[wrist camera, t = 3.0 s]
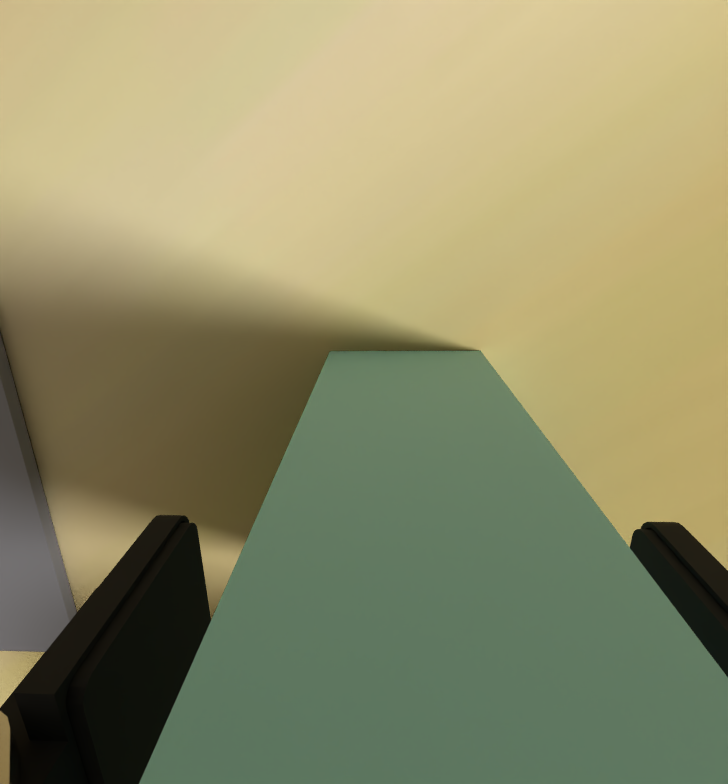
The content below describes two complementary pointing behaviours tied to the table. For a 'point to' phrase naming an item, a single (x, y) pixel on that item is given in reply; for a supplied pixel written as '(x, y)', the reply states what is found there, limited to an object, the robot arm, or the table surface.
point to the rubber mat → (26, 538)
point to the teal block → (439, 609)
